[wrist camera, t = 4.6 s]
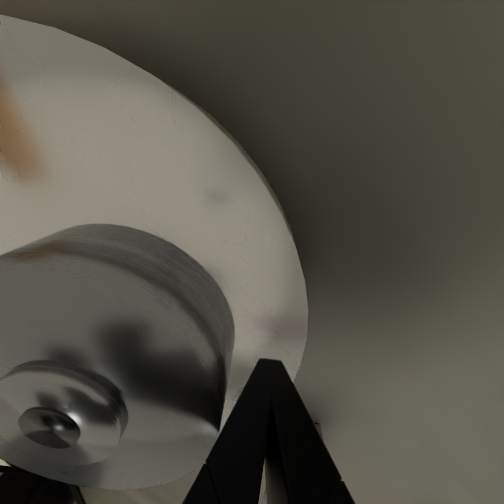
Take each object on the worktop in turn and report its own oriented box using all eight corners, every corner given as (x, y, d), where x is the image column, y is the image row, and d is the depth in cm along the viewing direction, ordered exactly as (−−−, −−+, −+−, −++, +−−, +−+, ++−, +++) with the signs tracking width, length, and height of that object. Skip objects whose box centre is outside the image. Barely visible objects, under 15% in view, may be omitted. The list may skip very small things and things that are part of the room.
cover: (232, 409, 11) (216, 528, 7) (51, 391, 11) (-43, 499, 8) (239, 233, 7) (215, 303, 4) (-17, 214, 8) (-235, 266, 4)
